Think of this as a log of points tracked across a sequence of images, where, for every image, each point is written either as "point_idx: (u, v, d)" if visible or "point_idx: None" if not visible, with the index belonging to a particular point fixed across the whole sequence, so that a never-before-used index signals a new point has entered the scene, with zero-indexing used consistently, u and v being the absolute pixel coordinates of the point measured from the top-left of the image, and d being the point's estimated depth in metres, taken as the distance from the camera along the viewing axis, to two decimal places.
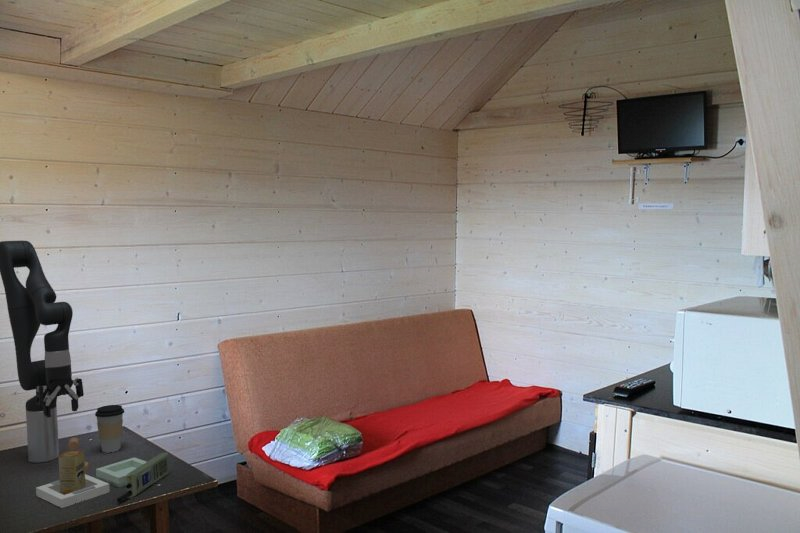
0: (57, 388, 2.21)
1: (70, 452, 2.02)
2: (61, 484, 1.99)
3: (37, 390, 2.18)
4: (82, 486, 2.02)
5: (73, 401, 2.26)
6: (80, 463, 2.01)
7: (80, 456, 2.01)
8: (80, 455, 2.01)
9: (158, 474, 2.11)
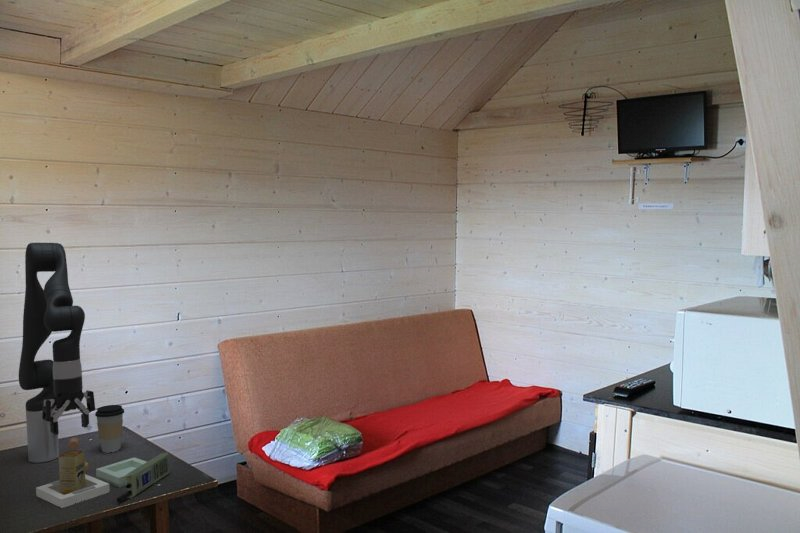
0: (66, 402, 1.97)
1: (70, 452, 2.02)
2: (61, 484, 1.99)
3: (44, 404, 1.94)
4: (82, 486, 2.02)
5: (83, 416, 2.03)
6: (80, 463, 2.01)
7: (80, 456, 2.01)
8: (80, 455, 2.01)
9: (158, 474, 2.11)
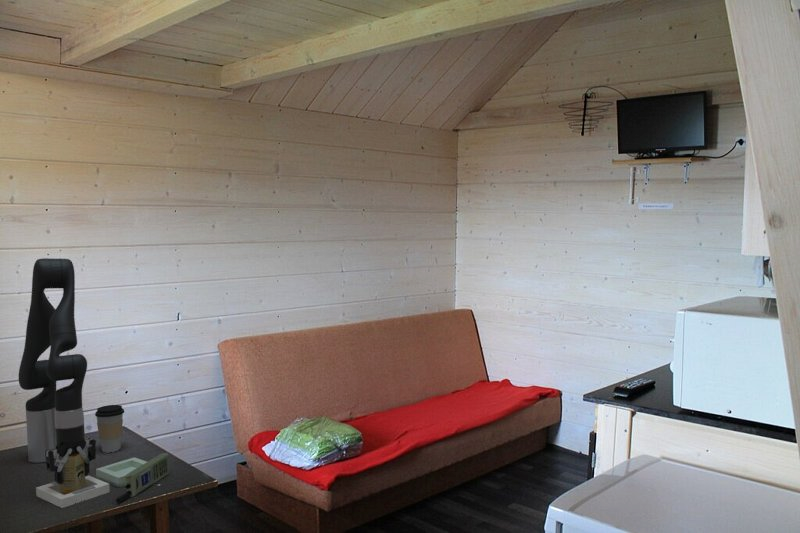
0: (68, 451, 1.98)
1: None
2: (61, 484, 1.99)
3: (47, 455, 1.95)
4: (82, 486, 2.02)
5: None
6: (80, 463, 2.01)
7: (80, 456, 2.01)
8: (80, 454, 2.01)
9: (158, 475, 2.11)
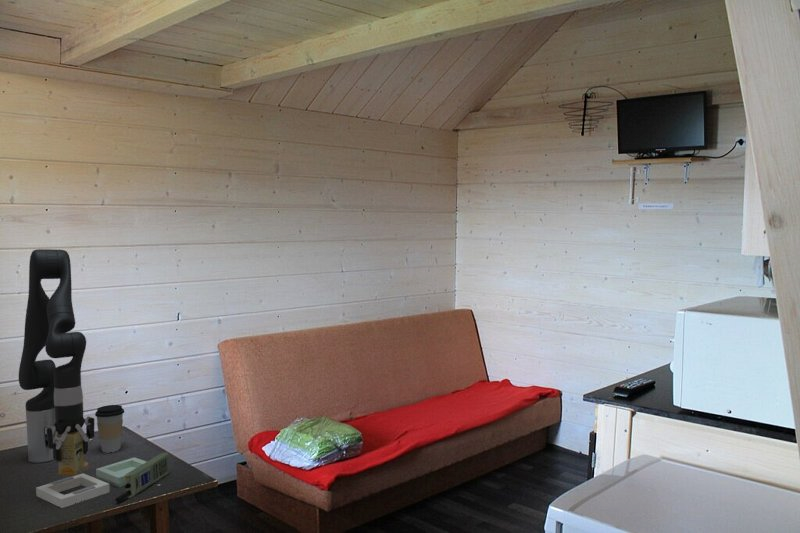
0: (67, 429, 1.98)
1: None
2: (60, 462, 1.98)
3: (45, 432, 1.95)
4: (81, 464, 2.02)
5: None
6: (79, 441, 2.01)
7: (79, 434, 2.00)
8: None
9: (157, 474, 2.11)
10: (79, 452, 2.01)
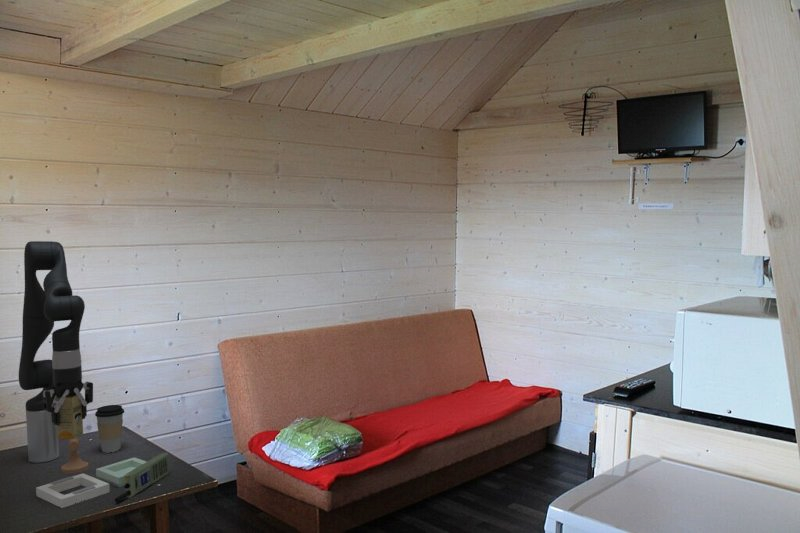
0: (65, 392, 1.97)
1: None
2: (58, 425, 1.98)
3: (44, 395, 1.94)
4: (79, 428, 2.01)
5: None
6: (77, 405, 2.00)
7: (77, 398, 2.00)
8: (77, 396, 2.00)
9: (157, 474, 2.11)
10: (78, 416, 2.00)
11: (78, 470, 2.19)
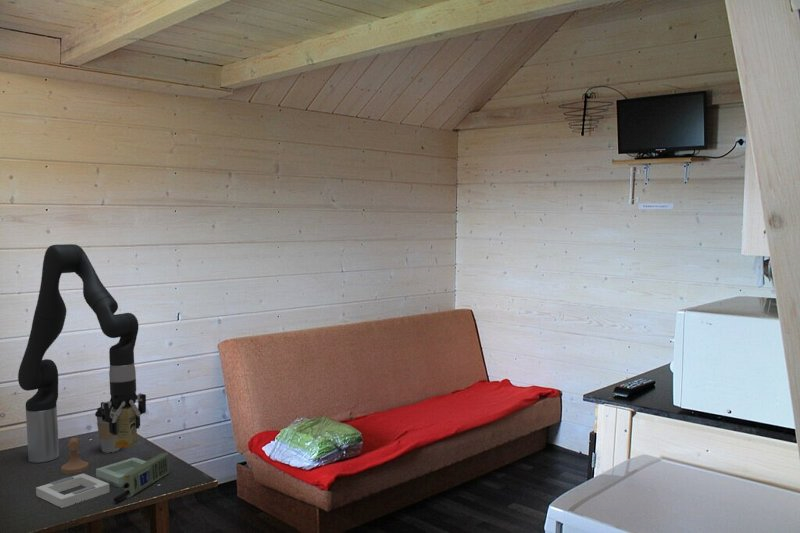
0: (122, 404, 2.11)
1: None
2: (115, 435, 2.11)
3: (102, 407, 2.08)
4: (134, 437, 2.15)
5: None
6: (132, 416, 2.14)
7: (132, 409, 2.14)
8: (132, 408, 2.14)
9: (157, 474, 2.11)
10: (133, 426, 2.14)
11: (78, 470, 2.19)
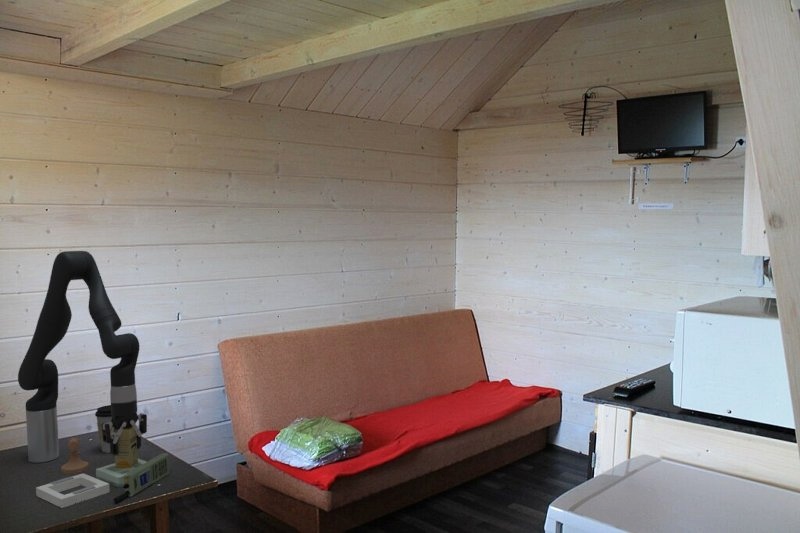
0: (123, 424, 2.11)
1: None
2: (116, 455, 2.12)
3: (103, 428, 2.08)
4: (135, 457, 2.15)
5: None
6: (133, 436, 2.14)
7: (133, 429, 2.14)
8: (133, 428, 2.14)
9: (157, 475, 2.11)
10: (134, 446, 2.14)
11: (78, 470, 2.19)
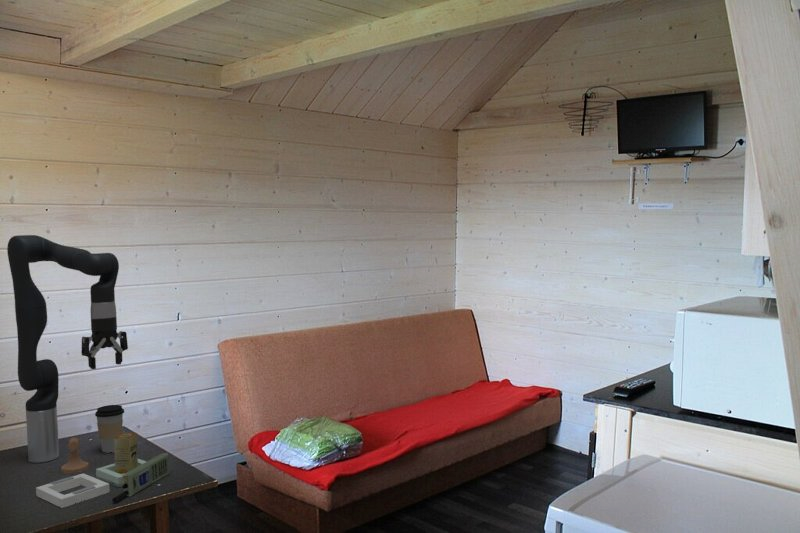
0: (103, 340, 2.17)
1: (124, 434, 2.15)
2: (116, 464, 2.12)
3: (83, 341, 2.15)
4: (135, 466, 2.15)
5: (117, 354, 2.23)
6: (133, 444, 2.14)
7: (133, 438, 2.14)
8: (133, 436, 2.14)
9: (157, 475, 2.11)
10: (134, 455, 2.14)
11: (78, 470, 2.19)
